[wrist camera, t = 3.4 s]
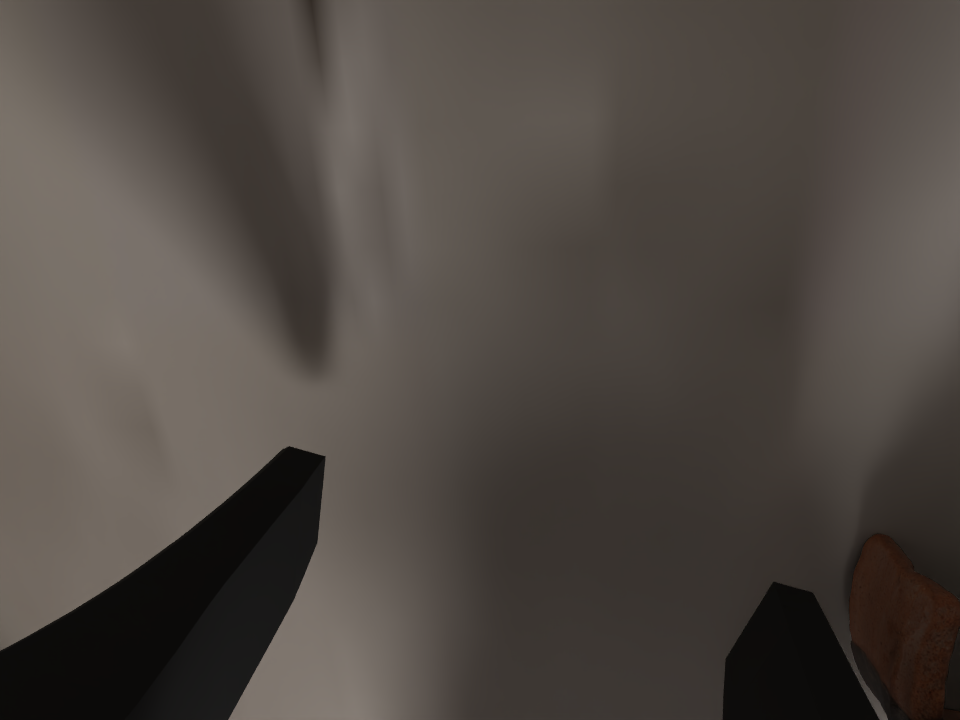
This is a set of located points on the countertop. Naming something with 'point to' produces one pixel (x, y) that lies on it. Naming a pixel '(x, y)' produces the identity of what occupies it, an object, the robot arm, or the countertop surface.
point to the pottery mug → (902, 632)
